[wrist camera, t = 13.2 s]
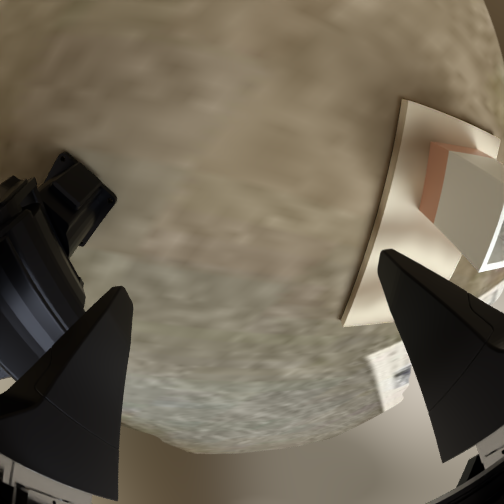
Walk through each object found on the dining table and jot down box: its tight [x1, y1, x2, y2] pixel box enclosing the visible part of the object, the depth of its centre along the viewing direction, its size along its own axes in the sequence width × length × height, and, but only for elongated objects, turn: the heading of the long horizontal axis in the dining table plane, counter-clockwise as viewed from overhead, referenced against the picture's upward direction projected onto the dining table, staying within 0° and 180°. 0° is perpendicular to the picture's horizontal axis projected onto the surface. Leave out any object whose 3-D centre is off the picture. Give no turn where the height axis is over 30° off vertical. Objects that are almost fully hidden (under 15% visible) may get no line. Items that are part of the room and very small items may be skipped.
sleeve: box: [419, 141, 504, 272], centre depth 16 cm, size 6×6×9 cm
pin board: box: [341, 99, 501, 327], centre depth 23 cm, size 24×13×4 cm, turn 177°
